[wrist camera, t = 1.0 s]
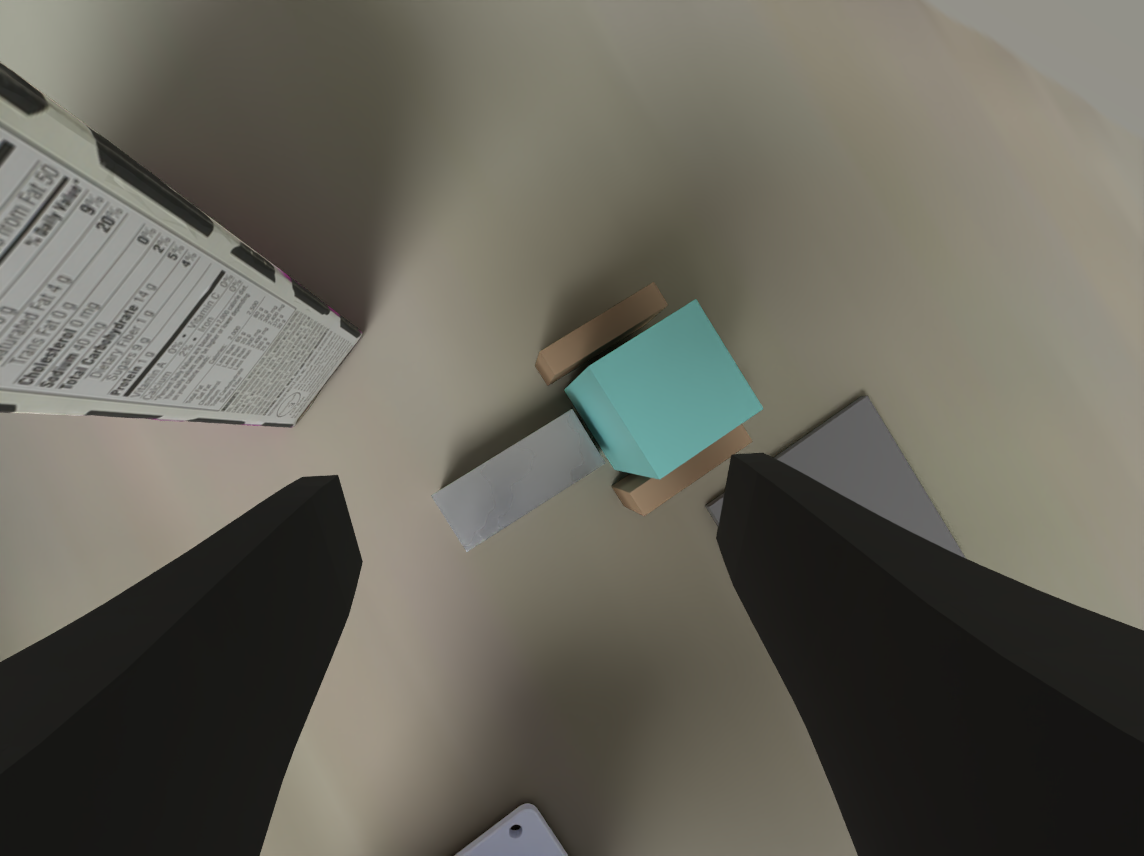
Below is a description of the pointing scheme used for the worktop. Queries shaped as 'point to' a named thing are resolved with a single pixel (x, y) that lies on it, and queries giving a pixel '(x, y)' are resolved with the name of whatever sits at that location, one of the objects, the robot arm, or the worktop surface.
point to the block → (663, 395)
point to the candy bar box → (139, 290)
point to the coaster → (864, 471)
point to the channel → (596, 339)
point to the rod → (518, 480)
